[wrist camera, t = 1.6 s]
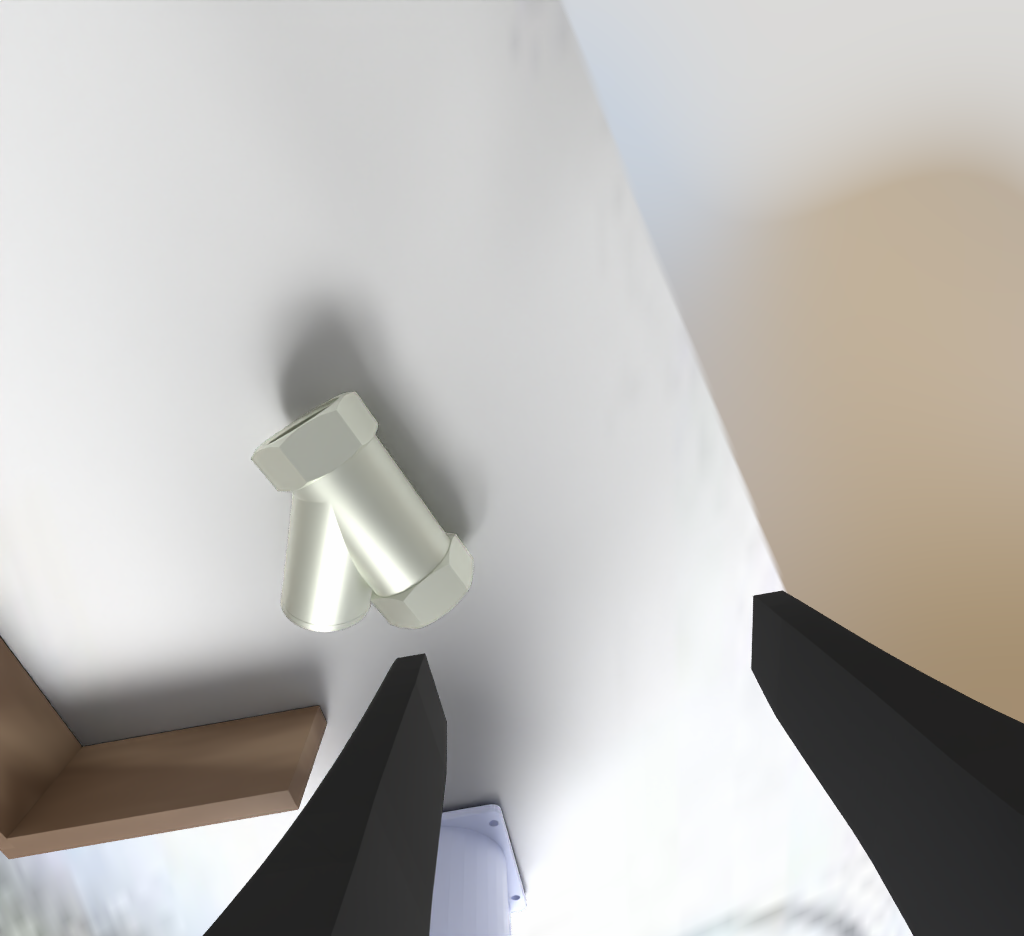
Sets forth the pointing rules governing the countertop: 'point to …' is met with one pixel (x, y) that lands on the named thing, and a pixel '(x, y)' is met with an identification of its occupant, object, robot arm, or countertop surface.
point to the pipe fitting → (357, 526)
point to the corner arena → (139, 773)
